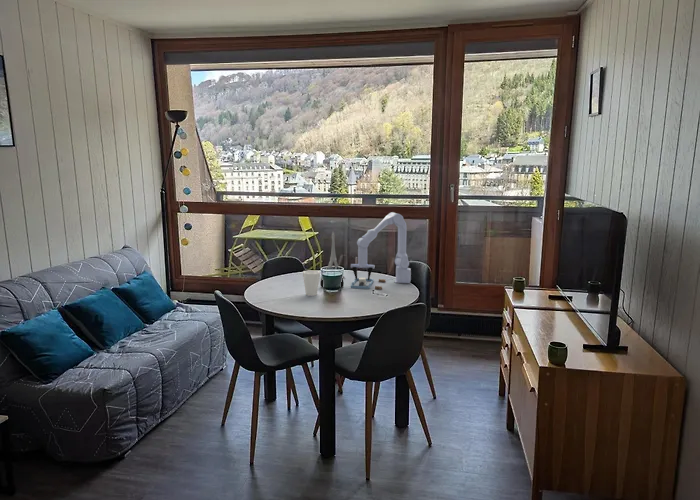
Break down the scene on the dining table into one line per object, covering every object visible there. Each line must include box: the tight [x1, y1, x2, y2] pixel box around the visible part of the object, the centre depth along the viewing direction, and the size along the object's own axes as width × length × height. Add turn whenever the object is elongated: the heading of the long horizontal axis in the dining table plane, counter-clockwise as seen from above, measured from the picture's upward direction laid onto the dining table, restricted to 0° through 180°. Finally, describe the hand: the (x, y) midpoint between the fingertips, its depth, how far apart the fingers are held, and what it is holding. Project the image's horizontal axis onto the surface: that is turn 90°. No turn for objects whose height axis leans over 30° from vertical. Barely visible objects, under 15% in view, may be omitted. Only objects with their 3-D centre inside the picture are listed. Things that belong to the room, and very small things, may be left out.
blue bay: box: [350, 277, 375, 290], centre depth 306 cm, size 11×19×2 cm, turn 170°
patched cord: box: [358, 277, 367, 286], centre depth 306 cm, size 4×12×4 cm, turn 170°
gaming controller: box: [319, 277, 345, 288], centre depth 299 cm, size 14×6×10 cm, turn 84°
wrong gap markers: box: [374, 278, 386, 291], centre depth 304 cm, size 4×20×2 cm, turn 170°
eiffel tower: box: [327, 231, 345, 280], centre depth 324 cm, size 13×13×30 cm
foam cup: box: [302, 269, 321, 297], centre depth 282 cm, size 10×9×13 cm
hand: (362, 279), depth 306 cm, fingers open, 7 cm apart
